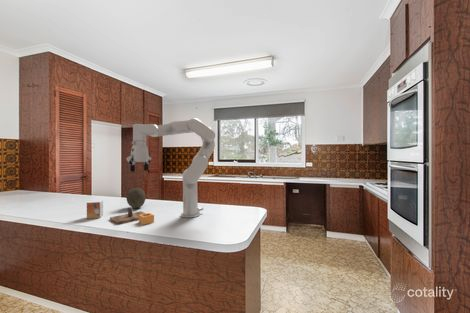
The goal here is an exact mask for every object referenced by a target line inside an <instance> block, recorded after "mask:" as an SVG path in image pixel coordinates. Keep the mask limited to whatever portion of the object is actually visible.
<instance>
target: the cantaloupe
mask: <svg viewBox="0 0 470 313" xmlns="http://www.w3.org/2000/svg"><path fill="white" fill-rule="evenodd" d="M125 197H126V202H127V204H128V206H130V207H132V209H133V208H134V209H140V208H141V207H143V206H144V204H145V202H146V198H147V197H146V193H145V191H144V190H143V189H142V188H137V187H135V188H131V189H129V190H128V191H127V194H126V196H125Z"/></svg>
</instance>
